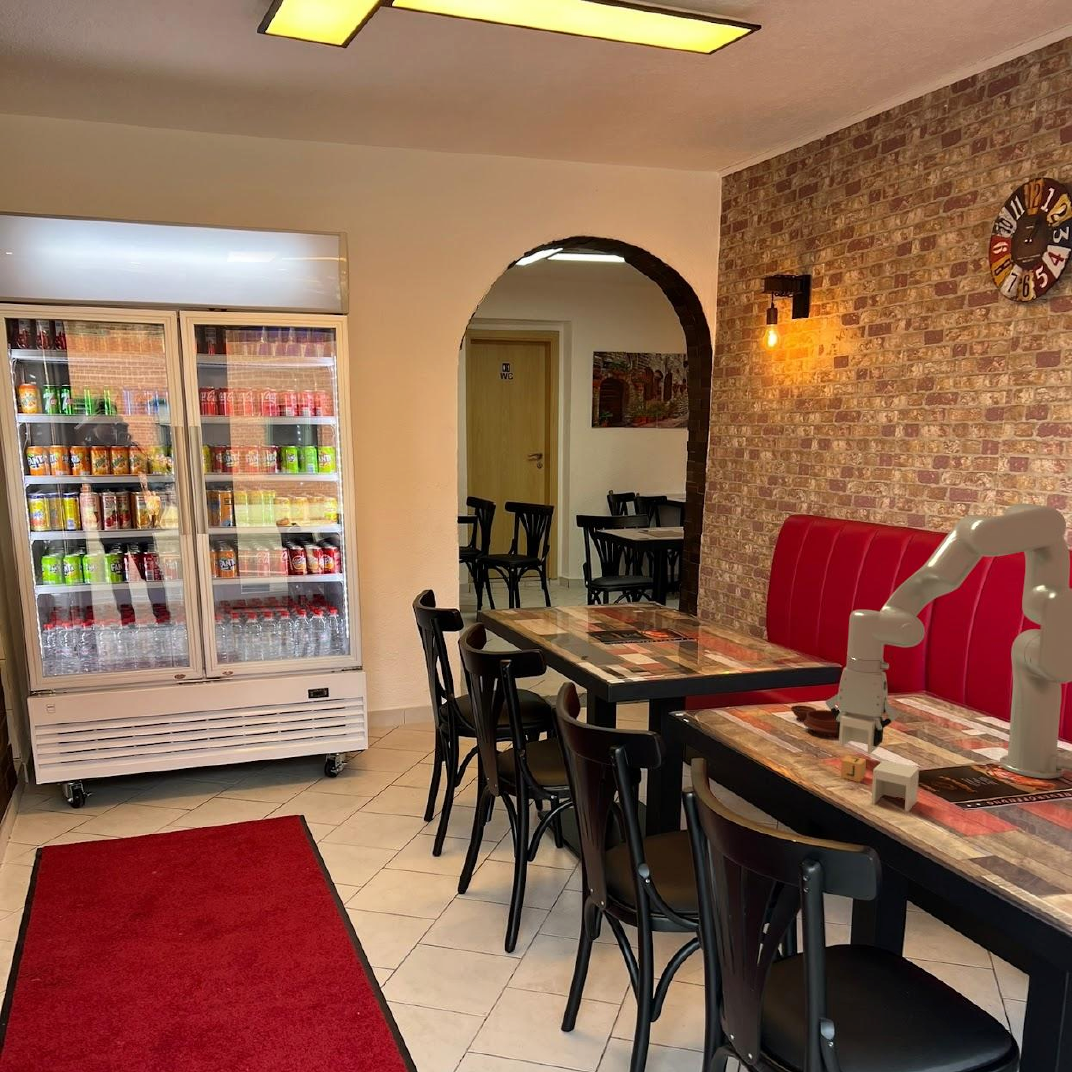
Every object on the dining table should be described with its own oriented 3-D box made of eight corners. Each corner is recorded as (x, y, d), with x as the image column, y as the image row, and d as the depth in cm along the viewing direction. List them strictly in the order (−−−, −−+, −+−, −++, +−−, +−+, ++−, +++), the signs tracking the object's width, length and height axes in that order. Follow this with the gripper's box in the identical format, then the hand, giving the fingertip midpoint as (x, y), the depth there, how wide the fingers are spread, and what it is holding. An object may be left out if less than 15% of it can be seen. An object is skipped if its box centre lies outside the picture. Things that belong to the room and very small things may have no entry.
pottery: (819, 741, 219) (820, 724, 218) (776, 718, 238) (777, 701, 238) (861, 738, 222) (862, 721, 222) (815, 715, 241) (816, 699, 241)
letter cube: (865, 777, 195) (866, 759, 195) (859, 782, 192) (860, 764, 191) (846, 773, 197) (847, 755, 197) (840, 778, 194) (841, 760, 194)
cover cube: (879, 746, 205) (881, 716, 204) (870, 753, 199) (872, 723, 199) (848, 739, 209) (850, 710, 208) (838, 747, 203) (840, 716, 203)
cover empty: (917, 801, 182) (919, 767, 181) (907, 812, 176) (910, 777, 175) (881, 792, 186) (883, 760, 185) (871, 803, 180) (873, 769, 179)
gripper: (908, 668, 200) (903, 745, 202) (831, 656, 211) (826, 729, 212) (899, 674, 194) (894, 754, 196) (820, 661, 204) (816, 737, 206)
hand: (859, 740), depth 204 cm, fingers closed on cover cube, 7 cm apart
